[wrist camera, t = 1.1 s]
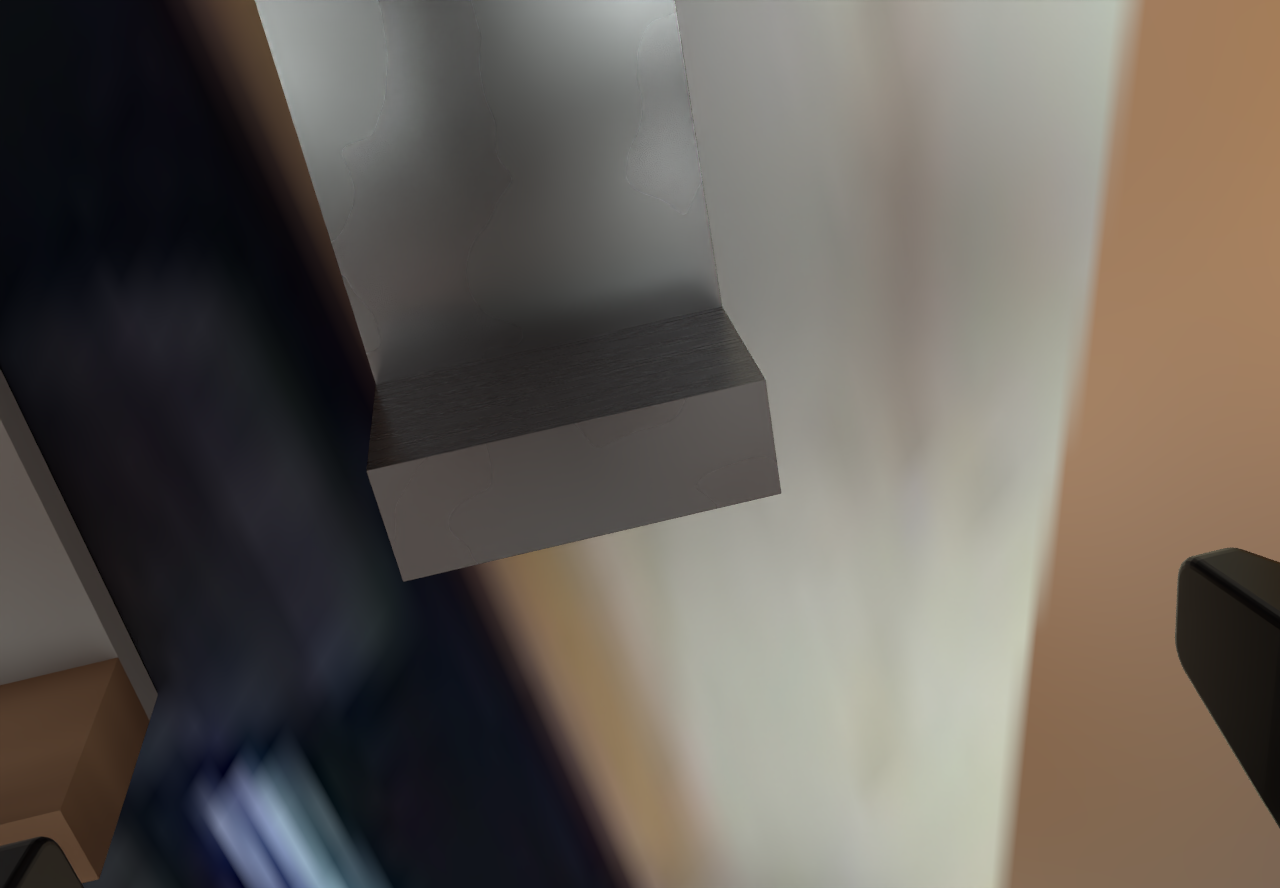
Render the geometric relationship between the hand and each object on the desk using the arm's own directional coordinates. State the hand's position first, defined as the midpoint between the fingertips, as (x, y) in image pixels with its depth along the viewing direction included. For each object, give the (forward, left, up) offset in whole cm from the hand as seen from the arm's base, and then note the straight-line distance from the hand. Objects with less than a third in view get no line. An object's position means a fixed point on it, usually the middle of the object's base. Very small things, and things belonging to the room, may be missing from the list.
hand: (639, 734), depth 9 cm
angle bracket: (+3, 0, -8) cm, 9 cm away
